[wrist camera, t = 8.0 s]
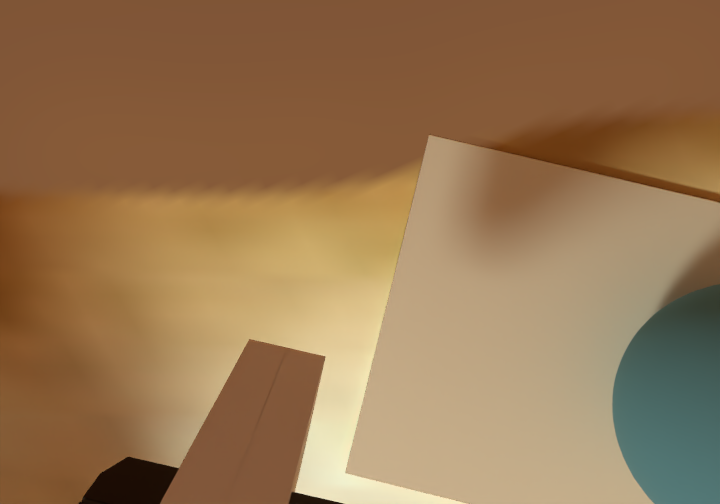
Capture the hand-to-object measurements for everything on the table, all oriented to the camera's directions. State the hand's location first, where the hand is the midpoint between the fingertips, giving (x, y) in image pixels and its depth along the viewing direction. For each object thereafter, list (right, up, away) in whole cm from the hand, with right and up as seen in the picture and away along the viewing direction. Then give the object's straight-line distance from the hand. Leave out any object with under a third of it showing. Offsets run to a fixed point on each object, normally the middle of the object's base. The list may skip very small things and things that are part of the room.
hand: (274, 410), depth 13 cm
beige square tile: (+7, 0, +5) cm, 9 cm away
